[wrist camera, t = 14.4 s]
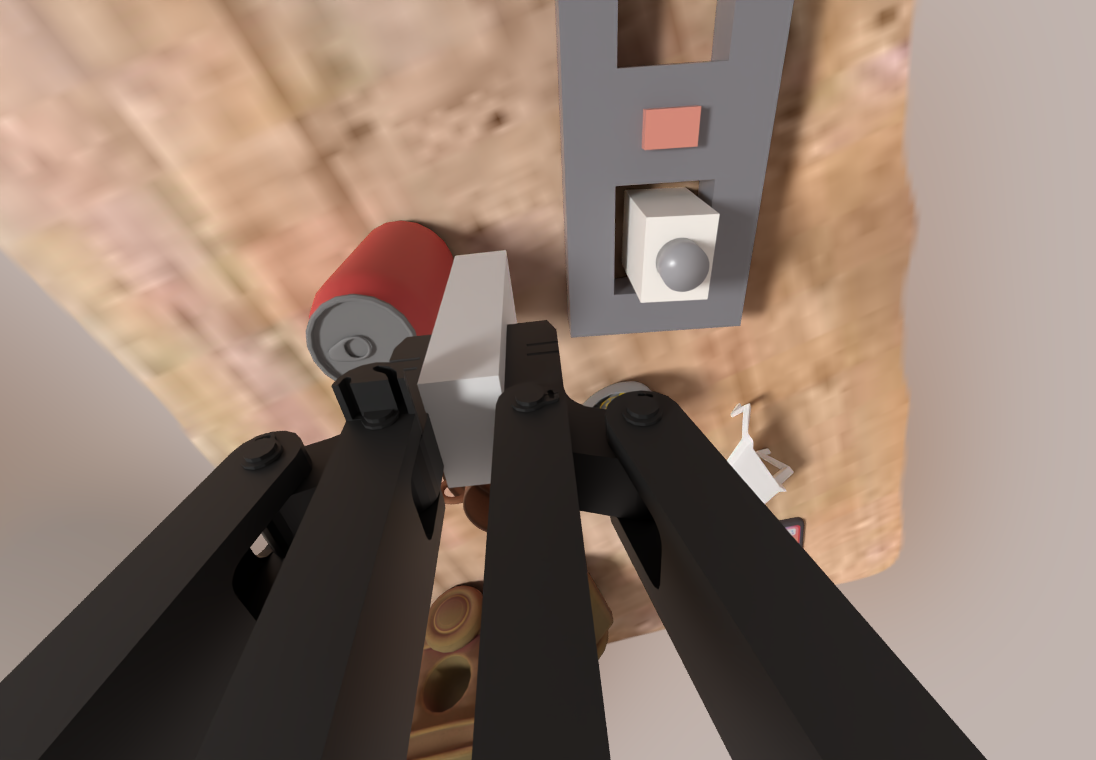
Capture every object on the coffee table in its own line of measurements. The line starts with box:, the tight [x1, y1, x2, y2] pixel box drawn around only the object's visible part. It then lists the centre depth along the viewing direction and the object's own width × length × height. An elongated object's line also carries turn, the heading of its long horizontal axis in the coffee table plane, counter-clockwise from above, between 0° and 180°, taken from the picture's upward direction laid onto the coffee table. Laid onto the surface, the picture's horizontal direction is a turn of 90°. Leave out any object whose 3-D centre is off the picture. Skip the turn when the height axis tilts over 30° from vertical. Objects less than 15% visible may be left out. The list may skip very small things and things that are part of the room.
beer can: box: [306, 221, 454, 381], centre depth 30 cm, size 7×7×12 cm
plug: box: [622, 187, 720, 303], centre depth 31 cm, size 5×4×8 cm
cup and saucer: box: [441, 471, 490, 532], centre depth 43 cm, size 12×12×6 cm
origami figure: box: [727, 403, 794, 504], centre depth 43 cm, size 12×8×5 cm
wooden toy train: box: [406, 573, 613, 760], centre depth 49 cm, size 20×11×17 cm, turn 112°
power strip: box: [555, 0, 794, 337], centre depth 29 cm, size 26×12×4 cm, turn 3°
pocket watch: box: [583, 381, 651, 409], centre depth 38 cm, size 8×8×10 cm
